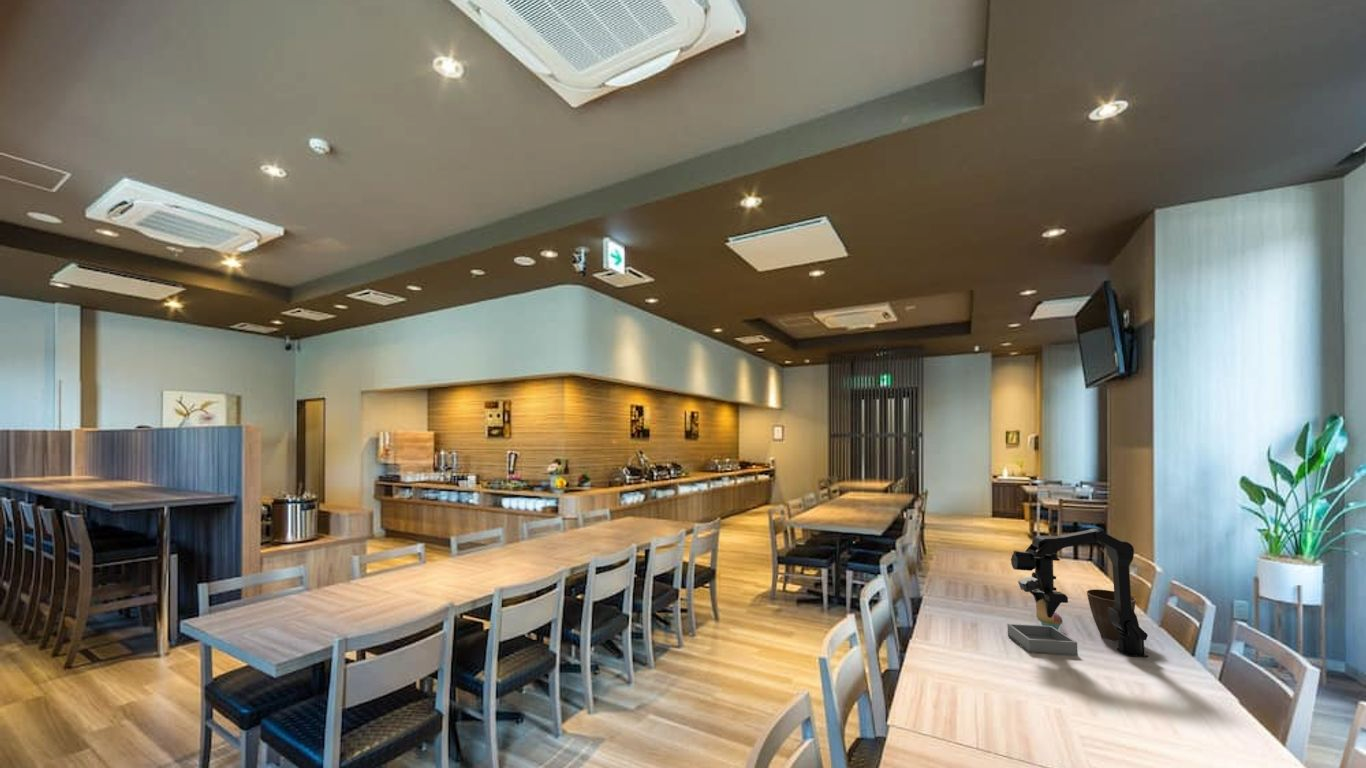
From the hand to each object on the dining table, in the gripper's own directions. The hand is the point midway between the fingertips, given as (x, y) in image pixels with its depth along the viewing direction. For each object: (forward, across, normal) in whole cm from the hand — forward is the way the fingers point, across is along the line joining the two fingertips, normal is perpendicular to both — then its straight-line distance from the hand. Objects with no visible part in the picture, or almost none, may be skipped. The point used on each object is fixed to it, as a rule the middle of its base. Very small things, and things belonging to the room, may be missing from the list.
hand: (1045, 614), depth 199 cm
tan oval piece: (+1, 0, 0) cm, 1 cm away
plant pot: (+11, -13, +31) cm, 36 cm away
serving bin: (+11, -1, -1) cm, 12 cm away
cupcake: (+12, -18, +11) cm, 24 cm away
